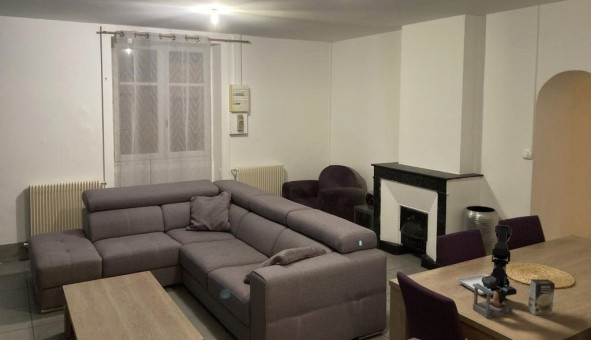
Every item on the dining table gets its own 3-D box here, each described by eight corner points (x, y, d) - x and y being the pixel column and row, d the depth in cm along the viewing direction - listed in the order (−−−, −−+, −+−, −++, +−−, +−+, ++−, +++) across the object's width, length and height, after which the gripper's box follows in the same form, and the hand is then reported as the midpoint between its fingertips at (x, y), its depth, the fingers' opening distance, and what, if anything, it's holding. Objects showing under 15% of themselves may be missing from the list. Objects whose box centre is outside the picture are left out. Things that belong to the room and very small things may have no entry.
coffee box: (534, 315, 241) (536, 284, 239) (527, 309, 248) (529, 279, 245) (552, 315, 242) (555, 283, 239) (545, 309, 248) (548, 278, 245)
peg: (497, 304, 249) (498, 289, 247) (503, 307, 245) (504, 292, 243) (490, 305, 247) (492, 290, 246) (496, 308, 244) (497, 293, 242)
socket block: (496, 304, 254) (498, 280, 251) (513, 314, 242) (515, 289, 240) (471, 308, 249) (472, 284, 247) (487, 318, 238) (489, 293, 235)
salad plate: (512, 292, 270) (512, 286, 269) (481, 298, 262) (481, 292, 262) (484, 278, 289) (484, 273, 289) (454, 283, 282) (455, 278, 281)
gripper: (473, 267, 249) (471, 296, 252) (499, 280, 232) (497, 311, 234) (491, 264, 253) (489, 293, 255) (518, 277, 235) (516, 308, 238)
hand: (497, 301), depth 246 cm, fingers closed on peg, 4 cm apart
